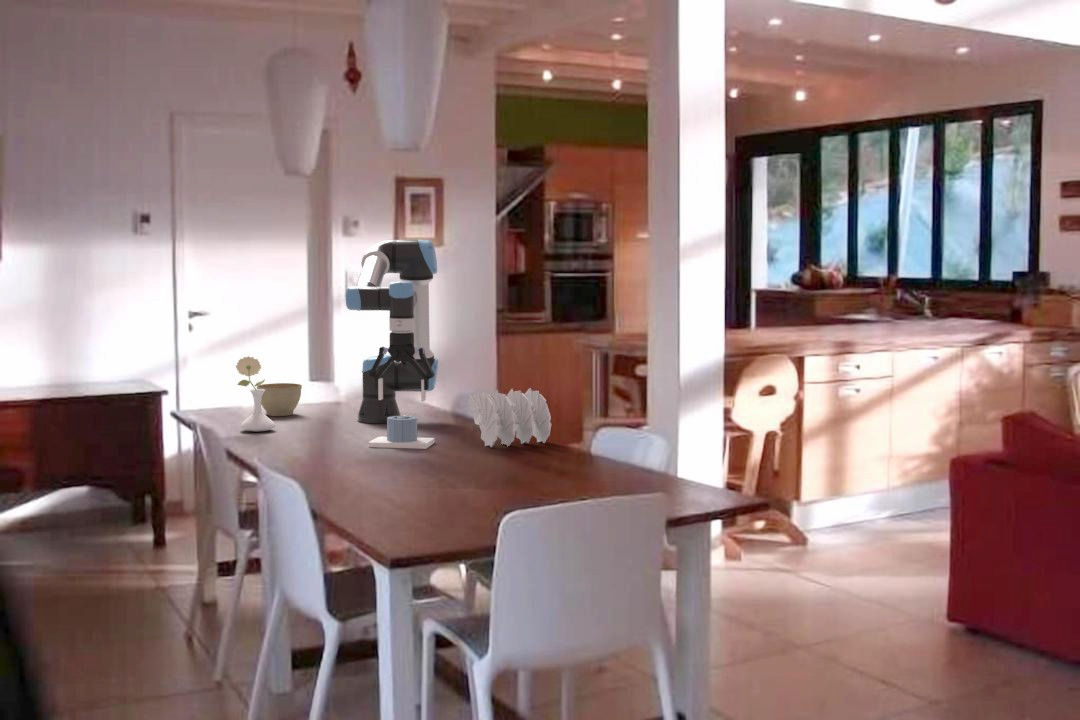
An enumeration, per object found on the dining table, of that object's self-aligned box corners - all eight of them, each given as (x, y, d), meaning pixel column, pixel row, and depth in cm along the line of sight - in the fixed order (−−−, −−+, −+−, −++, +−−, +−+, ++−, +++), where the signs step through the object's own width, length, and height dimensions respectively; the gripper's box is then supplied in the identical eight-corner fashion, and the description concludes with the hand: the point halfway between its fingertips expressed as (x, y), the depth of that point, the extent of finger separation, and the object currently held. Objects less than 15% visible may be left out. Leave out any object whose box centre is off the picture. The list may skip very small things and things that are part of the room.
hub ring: (391, 437, 374) (391, 415, 373) (419, 438, 373) (419, 416, 372) (384, 441, 365) (384, 419, 364) (412, 442, 364) (412, 420, 363)
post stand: (378, 441, 376) (378, 414, 375) (434, 442, 374) (434, 415, 373) (368, 447, 364) (368, 419, 363) (426, 448, 362) (426, 421, 361)
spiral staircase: (552, 456, 373) (481, 458, 361) (529, 426, 386) (460, 427, 374) (567, 407, 365) (495, 408, 353) (543, 378, 378) (473, 377, 366)
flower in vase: (280, 429, 401) (279, 355, 398) (269, 434, 389) (268, 358, 387) (242, 428, 402) (241, 354, 400) (230, 433, 391) (229, 357, 388)
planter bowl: (253, 413, 440) (252, 384, 439) (296, 411, 446) (295, 382, 446) (262, 418, 425) (261, 388, 424) (306, 416, 432) (306, 386, 431)
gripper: (359, 332, 364) (359, 400, 366) (438, 333, 360) (438, 402, 363) (365, 330, 371) (366, 397, 373) (443, 331, 368) (444, 399, 370)
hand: (402, 400), depth 368 cm, fingers open, 13 cm apart
